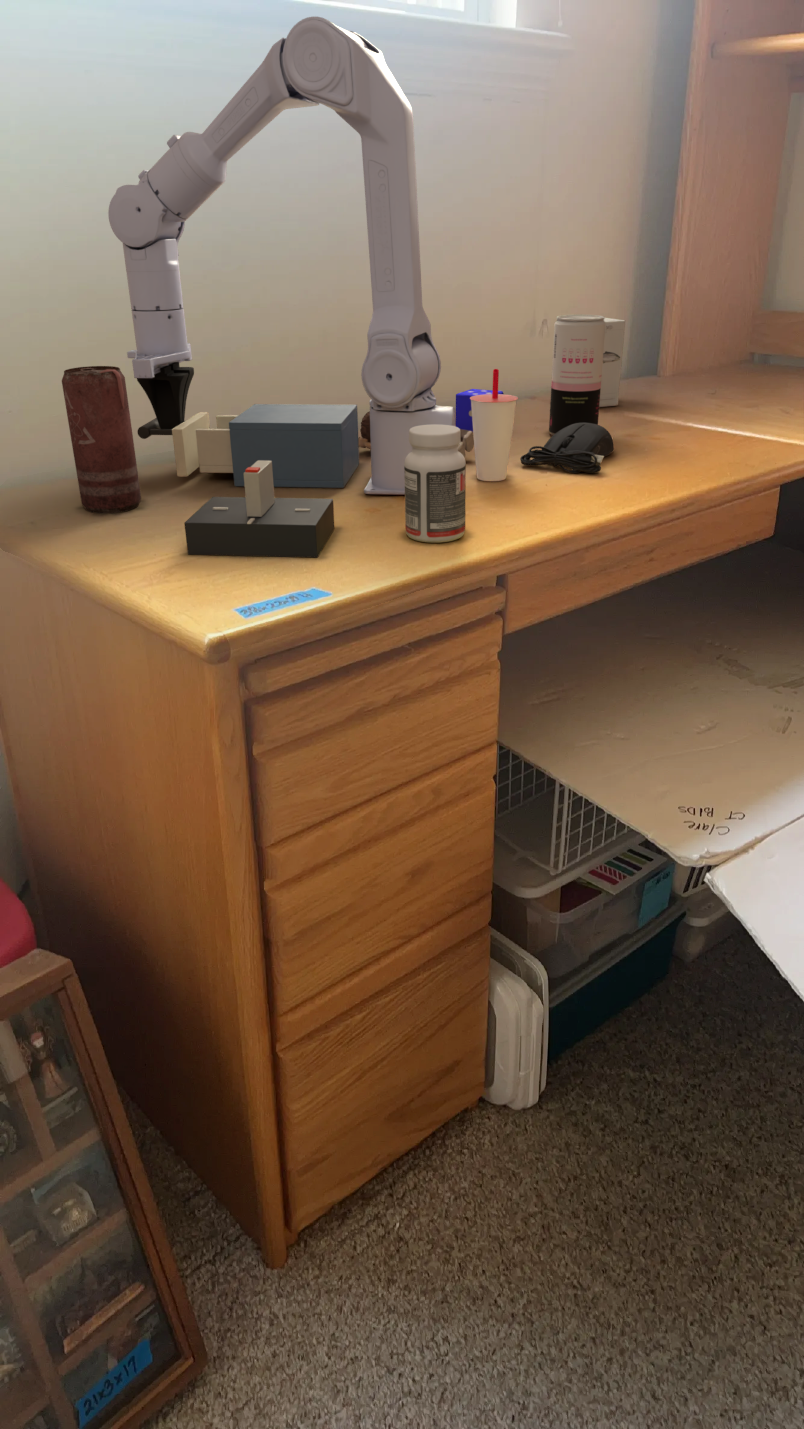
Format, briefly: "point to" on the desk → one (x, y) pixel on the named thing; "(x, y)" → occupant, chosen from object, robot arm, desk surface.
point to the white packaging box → (612, 361)
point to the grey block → (259, 488)
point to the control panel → (260, 528)
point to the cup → (492, 432)
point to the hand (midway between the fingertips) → (172, 433)
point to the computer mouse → (574, 448)
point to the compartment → (297, 443)
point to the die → (467, 407)
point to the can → (102, 438)
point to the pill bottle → (435, 484)
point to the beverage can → (576, 370)
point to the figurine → (365, 441)
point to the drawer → (197, 443)
